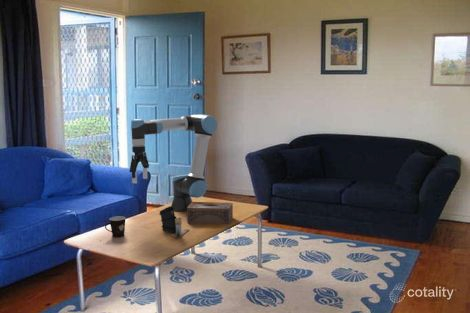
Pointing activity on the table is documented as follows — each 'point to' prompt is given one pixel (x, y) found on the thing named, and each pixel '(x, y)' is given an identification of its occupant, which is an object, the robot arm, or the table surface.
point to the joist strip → (182, 233)
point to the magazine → (168, 219)
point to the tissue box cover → (210, 213)
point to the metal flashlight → (178, 227)
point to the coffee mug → (117, 226)
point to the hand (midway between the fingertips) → (140, 181)
